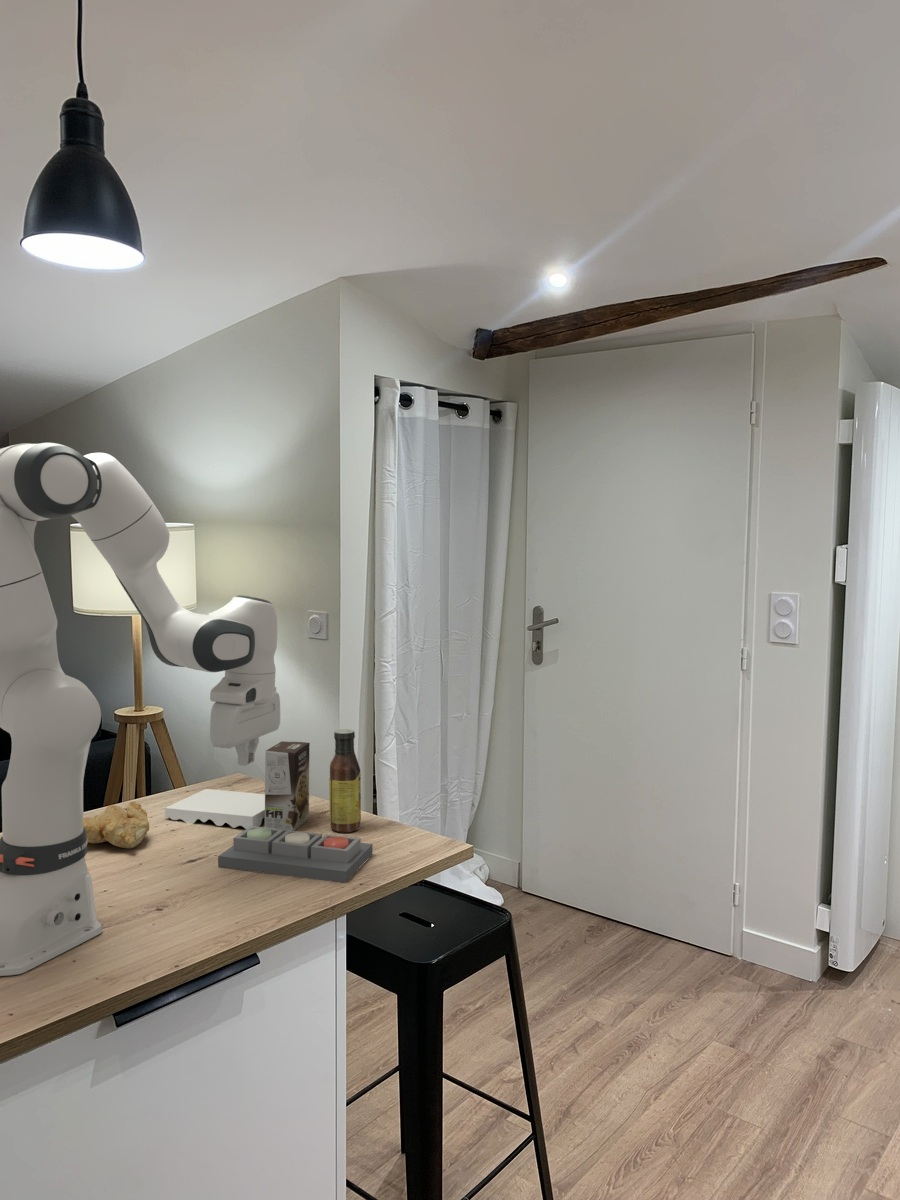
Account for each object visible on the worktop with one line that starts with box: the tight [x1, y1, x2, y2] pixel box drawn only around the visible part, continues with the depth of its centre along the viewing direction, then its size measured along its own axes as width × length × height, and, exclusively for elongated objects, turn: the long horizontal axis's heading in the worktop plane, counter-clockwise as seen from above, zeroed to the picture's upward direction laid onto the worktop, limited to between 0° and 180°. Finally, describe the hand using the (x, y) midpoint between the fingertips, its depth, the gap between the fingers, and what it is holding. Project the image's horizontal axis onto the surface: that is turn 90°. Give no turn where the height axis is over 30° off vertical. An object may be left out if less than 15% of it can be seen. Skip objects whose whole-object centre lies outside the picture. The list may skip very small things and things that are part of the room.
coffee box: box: [264, 741, 310, 832], centre depth 186 cm, size 9×6×16 cm
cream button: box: [285, 831, 310, 844], centre depth 167 cm, size 4×4×2 cm
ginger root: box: [83, 801, 150, 849], centre depth 174 cm, size 16×16×8 cm
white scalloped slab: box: [164, 788, 265, 830], centre depth 192 cm, size 15×3×20 cm
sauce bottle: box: [328, 728, 362, 834], centre depth 184 cm, size 6×6×20 cm
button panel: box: [217, 826, 373, 884], centre depth 167 cm, size 14×24×4 cm, turn 76°
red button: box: [324, 837, 349, 849], centre depth 165 cm, size 4×4×2 cm
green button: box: [247, 828, 271, 840], centre depth 168 cm, size 4×4×2 cm
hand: (245, 763), depth 164 cm, fingers closed
